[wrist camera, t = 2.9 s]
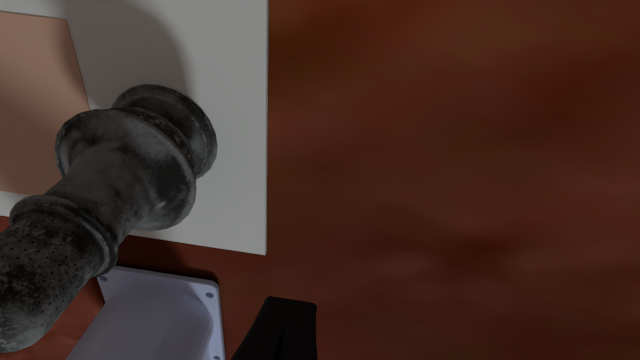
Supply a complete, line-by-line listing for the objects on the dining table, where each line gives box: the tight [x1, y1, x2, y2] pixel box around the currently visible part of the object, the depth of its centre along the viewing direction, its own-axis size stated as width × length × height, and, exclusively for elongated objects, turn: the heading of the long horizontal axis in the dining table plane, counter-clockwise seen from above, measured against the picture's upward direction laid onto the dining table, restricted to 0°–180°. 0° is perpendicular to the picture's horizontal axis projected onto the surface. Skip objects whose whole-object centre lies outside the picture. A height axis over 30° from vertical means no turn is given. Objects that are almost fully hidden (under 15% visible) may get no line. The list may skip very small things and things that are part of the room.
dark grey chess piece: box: [0, 84, 218, 353], centre depth 14 cm, size 6×6×12 cm
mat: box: [0, 0, 268, 255], centre depth 19 cm, size 14×22×1 cm, turn 85°
